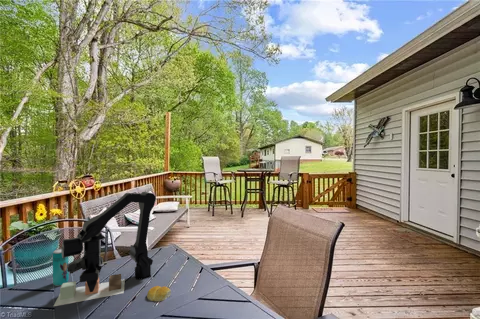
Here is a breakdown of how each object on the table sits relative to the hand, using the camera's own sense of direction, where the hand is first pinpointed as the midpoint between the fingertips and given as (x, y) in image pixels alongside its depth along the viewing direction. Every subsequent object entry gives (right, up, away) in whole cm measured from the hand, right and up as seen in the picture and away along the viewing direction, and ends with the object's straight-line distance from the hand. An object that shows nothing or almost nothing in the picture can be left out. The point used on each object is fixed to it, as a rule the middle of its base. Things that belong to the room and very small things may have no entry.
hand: (92, 288), depth 106 cm
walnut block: (+8, -1, +3) cm, 9 cm away
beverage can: (-18, -2, +7) cm, 20 cm away
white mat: (0, -2, 0) cm, 2 cm away
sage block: (-8, -1, -3) cm, 9 cm away
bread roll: (+29, -2, -3) cm, 29 cm away
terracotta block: (0, -1, 0) cm, 1 cm away
